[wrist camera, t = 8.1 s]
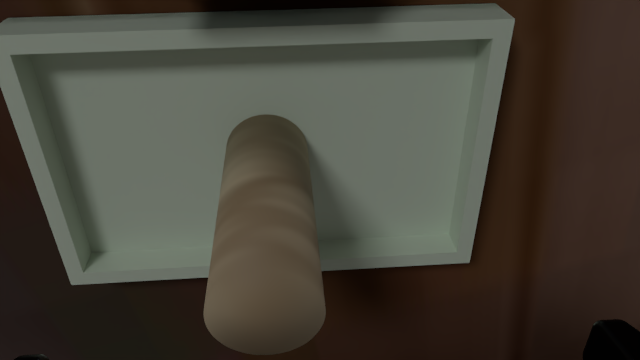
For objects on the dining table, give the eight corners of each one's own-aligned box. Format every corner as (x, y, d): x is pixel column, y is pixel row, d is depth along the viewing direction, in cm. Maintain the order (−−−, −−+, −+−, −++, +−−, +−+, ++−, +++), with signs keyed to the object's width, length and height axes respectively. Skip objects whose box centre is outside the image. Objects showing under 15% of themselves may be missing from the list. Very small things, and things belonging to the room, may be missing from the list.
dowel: (307, 112, 19) (325, 266, 13) (308, 182, 21) (325, 350, 14) (222, 116, 19) (195, 273, 12) (230, 186, 21) (211, 358, 14)
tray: (495, 3, 18) (514, 18, 17) (457, 235, 24) (469, 262, 22) (8, 17, 17) (-18, 36, 16) (84, 254, 23) (71, 285, 21)
